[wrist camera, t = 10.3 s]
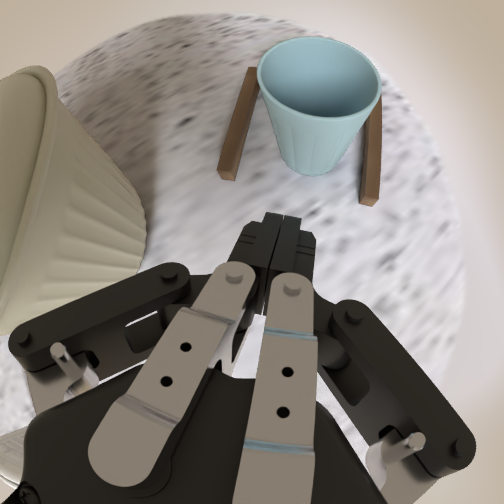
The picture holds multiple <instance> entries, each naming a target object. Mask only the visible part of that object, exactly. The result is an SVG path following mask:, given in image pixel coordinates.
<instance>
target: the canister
mask: <svg viewBox="0 0 504 504" xmlns="http://www.w3.org/2000/svg"><path fill="white" fill-rule="evenodd" d="M144 215H145V212H144V209H143V207H142V204H141V200H140V197H139V196H138V194H137V192H136V190H135V188H134V186H133V185H132V184H131V183H130V181H129V180H128V179H127V178H126V176H125V175H124V174H123V173H122V171H121V170H120V169H119V168H118V167H117V165H116V164H115V163H114V162H113V161H112V159H111V158H110V157H109V156H108V155H107V154H106V152H105V151H104V150H103V149H102V148H101V147H100V146H99V144H98V143H97V142H96V141H95V140H94V139H93V138H92V136H91V135H90V134H89V133H88V132H87V131H86V130H85V129H84V127H83V126H82V125H81V124H80V123H79V122H78V120H77V119H76V118H75V117H74V116H73V114H72V113H71V112H70V111H69V110H68V109H67V107H66V106H65V105H64V104H63V103H62V102H61V101H60V100H59V98H58V92H57V86H56V82H55V79H54V77H53V75H52V74H51V72H50V71H49V70H48V69H46V68H44V67H42V66H29V67H25V68H23V69H20V70H18V71H16V72H15V73H13V74H11V75H10V76H8V77H6V78H3V79H1V80H0V336H3V335H7V334H11V333H12V331H13V330H14V329H15V328H16V327H17V326H18V325H20V324H22V323H24V322H26V321H29V320H31V319H33V318H35V317H38V316H40V315H42V314H44V313H47V312H49V311H51V310H53V309H56V308H58V307H60V306H63V305H65V304H67V303H70V302H72V301H74V300H76V299H79V298H81V297H83V296H86V295H88V294H91V293H93V292H95V291H98V290H100V289H102V288H105V287H107V286H109V285H112V284H114V283H117V282H119V281H121V280H124V279H126V278H129V277H131V276H133V275H136V273H137V271H138V270H139V269H140V263H141V261H142V259H143V257H144V256H143V254H144V249H145V247H146V244H145V241H146V236H147V232H146V224H147V223H146V220H145V217H144Z"/></svg>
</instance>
